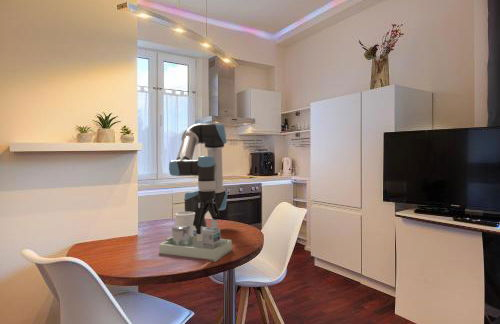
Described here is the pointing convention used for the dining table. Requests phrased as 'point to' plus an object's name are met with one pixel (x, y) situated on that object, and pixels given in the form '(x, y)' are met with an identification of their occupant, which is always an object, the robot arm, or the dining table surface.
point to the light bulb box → (207, 238)
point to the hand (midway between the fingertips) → (207, 237)
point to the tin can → (181, 236)
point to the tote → (196, 250)
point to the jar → (185, 220)
